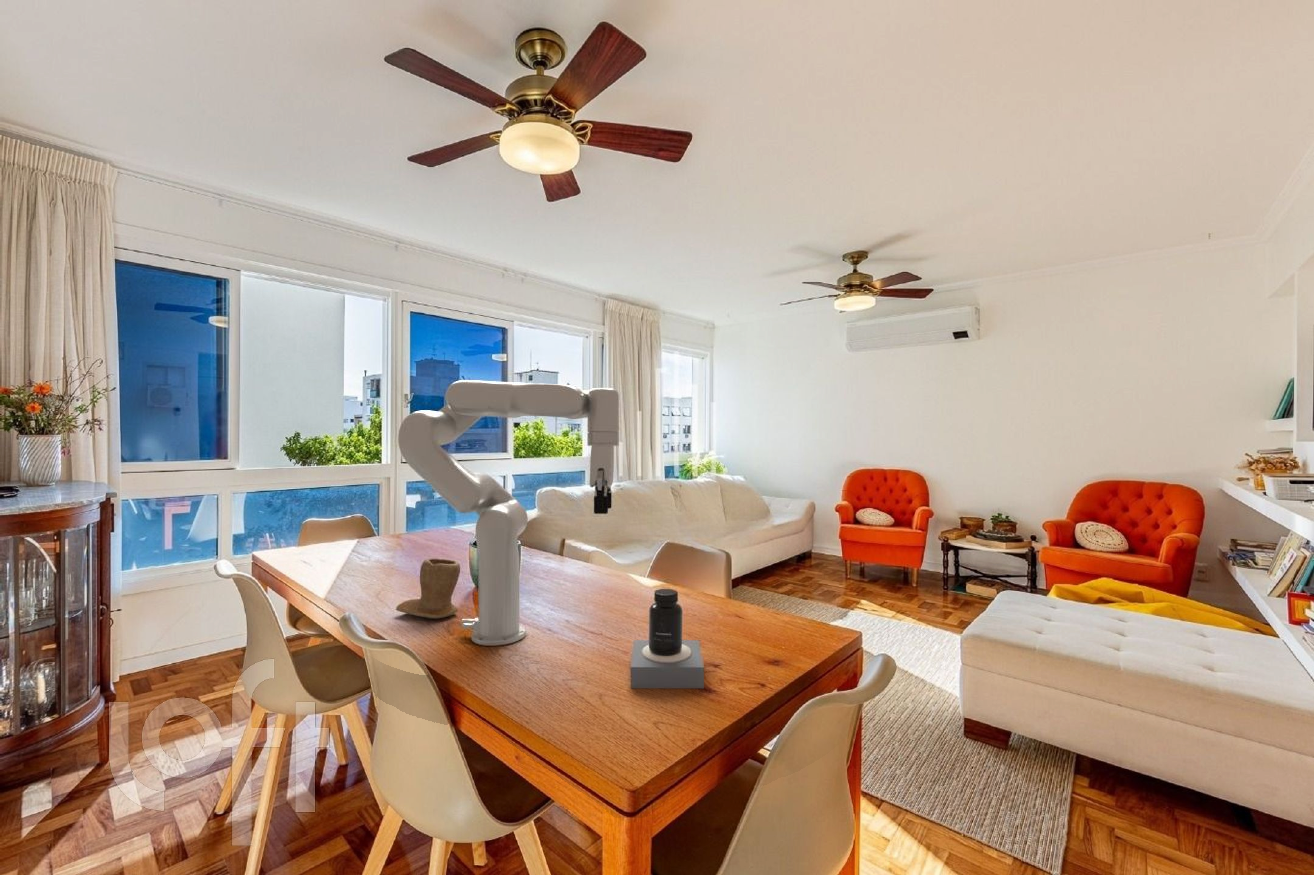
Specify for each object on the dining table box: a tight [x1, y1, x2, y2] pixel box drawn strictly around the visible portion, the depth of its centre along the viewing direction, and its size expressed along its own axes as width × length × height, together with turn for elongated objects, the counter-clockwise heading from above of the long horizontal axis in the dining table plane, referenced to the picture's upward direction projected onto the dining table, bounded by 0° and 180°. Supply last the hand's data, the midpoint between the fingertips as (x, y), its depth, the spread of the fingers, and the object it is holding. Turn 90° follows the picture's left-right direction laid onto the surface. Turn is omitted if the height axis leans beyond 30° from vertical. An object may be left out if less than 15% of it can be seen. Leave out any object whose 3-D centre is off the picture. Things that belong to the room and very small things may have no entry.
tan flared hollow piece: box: [395, 557, 461, 619], centre depth 148 cm, size 15×12×15 cm
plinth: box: [630, 639, 705, 689], centre depth 111 cm, size 14×14×4 cm
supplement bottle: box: [648, 588, 683, 656], centre depth 111 cm, size 7×7×12 cm
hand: (603, 510), depth 131 cm, fingers open, 9 cm apart
